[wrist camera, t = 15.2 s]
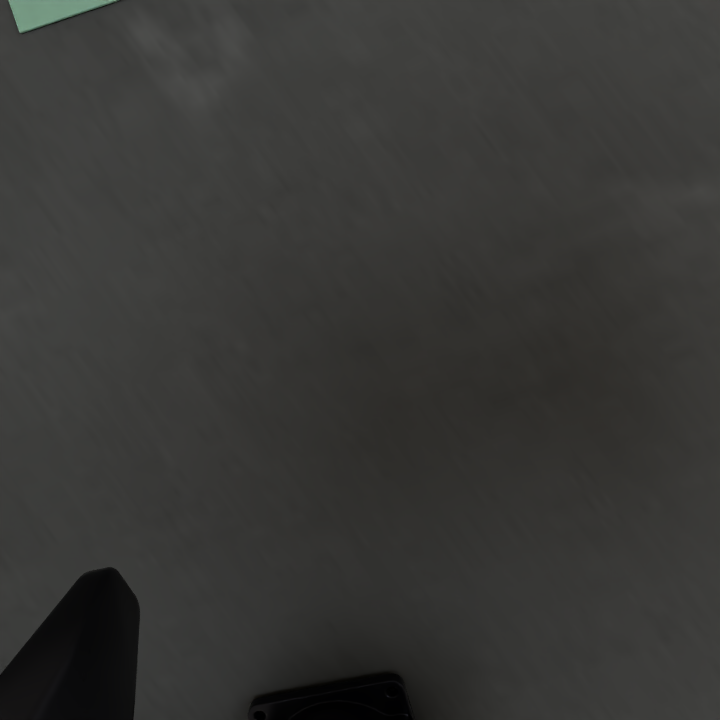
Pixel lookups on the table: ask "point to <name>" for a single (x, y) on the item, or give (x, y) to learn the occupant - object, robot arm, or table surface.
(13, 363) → the table surface
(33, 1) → the tape strip
